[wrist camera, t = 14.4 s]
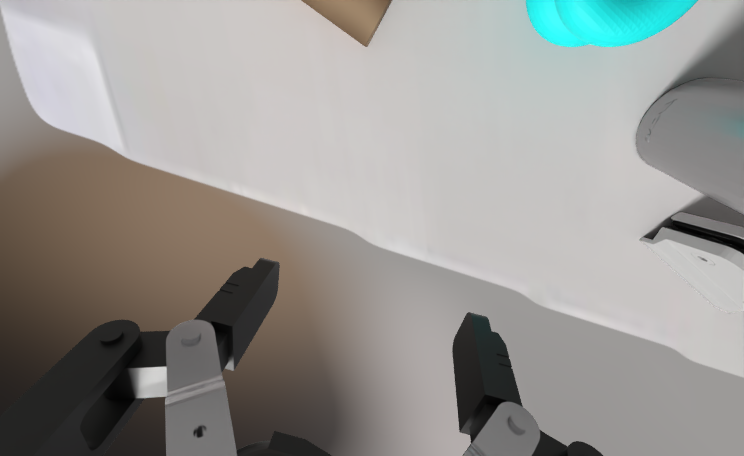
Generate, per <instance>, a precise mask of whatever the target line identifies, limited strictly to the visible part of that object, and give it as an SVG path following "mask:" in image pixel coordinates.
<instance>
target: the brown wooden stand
mask: <svg viewBox="0 0 744 456" xmlns="http://www.w3.org/2000/svg"><path fill="white" fill-rule="evenodd" d="M302 1H303V2H304V3H306V4H307V5H308V6H310V7H311V8H313V9H314V10H315V11H317V12H318V13H320V14H321V15H322V16H324V17H325V18H326V19H328V20H329V21H331V22H332V23H333V24H335V25H336V26H338V27H339V28H340V29H342V30H343V31H344V32H346V33H347V34H349V35H350V36H351V37H353V38H354V39H355V40H357V41H358V42H360V43H361V44H362V45H364V46H365V47H367V46H368V45H369V43H370V41H371V39H372V37H373V35H374V33H375V31H376V30H377V28H378V26H379V24H380V22H381V20H382V18H383V16H384V15H385V13H386V11H387V9H388V7H389V5H390V3H391V1H392V0H302Z"/></svg>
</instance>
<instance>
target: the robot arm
mask: <svg viewBox="0 0 744 456" xmlns="http://www.w3.org/2000/svg"><path fill="white" fill-rule="evenodd" d="M636 147H637V151H638V153H639V155H640V157H641V159H642V160H643V161H645V162H646V163H647V164H648V165H650V166H652V167H654V168H656V169H658V170H659V171H661V172H663V173H665V174H667V175H669V176H671V177H672V178H674V179H676V180H678V181H680V182H682V183H684V184H686V185H687V186H689V187H691V188H693V189H695V190H697V191H699V192H701V193H703V194H705V195H707V196H708V197H710V198H712V199H714V200H716V201H718V202H720V203H722V204H724V205H726V206H727V207H729V208H731V209H733V210H735V211H737V212H739V213H741V214H743V215H744V81H741V80H731V79H722V78H702V79H696V80H693V81H690V82H687V83H684V84H681V85H680V86H678V87H676V88H674V89H672V90H670V91H669V92H668V93H666V94H665V95H663V96H662V97H661V98H659V99H658V100H657V101H656V102H655V103H654V104H653V105H652V106H651V107H650V109H649V110H648V111H647V113H646V114H645V115H644V117H643V119H642V121H641V123H640V125H639V128H638V131H637V135H636ZM279 266H280V265H279V262H275V261H272V260H268V259H264V258H260V259H259V260H258V261H257V263H256V264H255V265H254V267H253V268H248V267H243V268H241V269H240V270H238V271H236V272H234V273H233V274H232V275H231V276H230V278H229V279H228V280H227V281H226V283H225V284H224V285H223V286H222V287H221V288H220V291H218V292H217V293H216V294H215V295H214V297H213V298H212V299H211V300H210V301H209V302H208V304H207V305H206V306H205V307H204V308H203V310H202V311H201V312H200V313H199V315H197V317H196V318H195V319H194V320H190V321H186V322H183V323H181V324H179V325H177V326H176V327H174V328H173V329H172V330H171V331H154V332H140V329H139V327H138V325H137V324H136V323H134V322H132V321H129V320H115V321H111V322H108V323H105V324H103V325H100V326H98V327H97V328H95V329H94V330H92V331H91V332H90V333H89V334H88V335H87V336H86V337H85V338H83V339H82V340H81V341H80V342H79V343H78V344H77V345H76V346H75V347H74V348H73V349H72V350H70V351H69V352H68V353H67V354H66V355H65V356H64V357H63V358H62V359H61V360H60V361H59V362H58V363H57V364H55V366H53V367H52V368H51V369H50V370H49V371H48V372H47V373H46V374H45V375H44V376H43V377H41V378H40V380H38V381H37V382H36V383H35V384H34V385H33V386H32V387H31V388H30V389H29V390H28V391H27V392H25V393H24V394H23V395H22V396H21V397H20V398H19V399H18V400H17V401H16V402H15V403H13V404H12V405H11V406H10V407H9V408H8V409H7V410H6V411H5V412H4V413H3V414H2V415H1V416H0V456H103V455H104V454H105V452H106V451H107V450H108V448H109V447H110V446H111V444H112V443H113V441H114V440H115V439H116V437H117V436H118V435H119V433H120V432H121V430H122V429H123V428H124V426H125V425H126V423H127V422H128V421H129V419H130V418H131V417H132V415H133V414H134V412H135V411H136V410H137V408H138V407H139V406H140V404H141V403H142V401H143V400H144V399H145V398H150V397H164V396H167V397H166V400H165V413H166V456H331V455H330V454H328V453H326V452H325V451H323V450H322V449H320V448H318V447H317V446H315V445H314V444H312V443H310V442H309V441H307V440H305V439H302V438H298V437H295V436H291V435H287V434H283V433H280V432H276V431H274V434H273V436H272V439H271V441H263V442H257V443H254V444H250V445H247V446H245V447H243V448H241V449H238V450H237V451H236V446H235V440H234V434H233V429H232V423H231V417H230V411H229V406H228V400H227V394H226V388H225V383H224V380H223V378H222V371H223V370H224V368H226V369H229V370H233V371H234V369H235V368H236V366H237V364H238V363H239V361H240V359H241V358H242V356H243V354H244V353H245V351H246V349H247V348H248V346H249V344H250V342H251V341H252V339H253V337H254V336H255V334H256V332H257V331H258V329H259V327H260V325H261V324H262V322H263V320H264V318H265V317H266V315H267V314H268V312H269V310H270V308H271V307H272V305H273V303H274V301H275V299H276V296H277V291H278V280H279ZM453 363H454V374H455V385H456V396H457V407H458V418H459V430H460V432H461V433H465V434H468V435H470V437H471V444H470V446H469V447H468V449H467V450H466V451H465V453H464V454H463V456H603V455H602V454H601V453H600V452H599V451H597V450H596V449H595V448H593V447H592V446H590V445H588V444H586V443H584V442H579V441H576V442H573V443H571V444H570V445H569V446H568V447H567V446H566V445H564V444H562V443H560V442H559V441H557V440H555V439H554V438H552V437H550V436H548V435H547V434H545V433H544V432H542V431H541V430H540V429H539V427H538V424H537V423H536V421H535V419H534V418H533V416H532V415H531V414H530V413H529V412H528V411H527V410H526V409H525V408H523V406H522V403H521V399H520V395H519V392H518V388H517V385H516V381H515V377H514V374H513V370H512V369H511V367H512V366H511V362H510V359H509V355H508V351H507V348H506V345H505V343H504V341H503V340H502V338H501V337H500V335H499V334H498V333H496V332H492V331H491V328H490V324H489V320H488V318H487V317H485V316H481V315H477V314H474V313H470V312H469V313H467V314H466V316H465V318H464V320H463V322H462V324H461V326H460V328H459V330H458V332H457V334H456V336H455V338H454V342H453Z"/></svg>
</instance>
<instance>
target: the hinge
mask: <svg viewBox="0 0 744 456" xmlns="http://www.w3.org/2000/svg"><path fill="white" fill-rule="evenodd" d="M671 219H672V220H673V222H672V224H673V225H674V226H675V227H676V228H674V227H671V226H668V227H667V228H664V227H662V228H661V229H660V231H659V232H658V234H657V235H656V236H655V238H654V239H653V240H651V239H648V238H644V237H642V238H641V239H640V241H641V242H642V243H643V244H644V245H645V246H646V247H647V248H649V249H650V250H651V251H652V252H653V253H654V254H655V255H656V256H657V257H659V258H660V259H661V260H662V261H663V262H664V263H665V264H666V265H668V266H669V267H670V268H671V269H672V270H673V271H674V272H675V273H676V274H678V275H679V276H680V277H681V278H682V279H683V280H684V281H685V282H687V283H688V284H689V285H690V286H691V287H692V288H693V289H694V290H695V291H697V292H698V293H699V294H700V295H701V296H702V297H703V298H704V299H706V300H707V301H708V302H709V303H710V304H711V305H712V306H713V307H715V308H717V309H720V310H722V311H724V312H727V313H736V312H741V311H744V227H741V226H737V225H733V224H729V223H724V222H720V221H716V220H712V219H708V218H704V217H700V216H696V215H692V214H688V213H684V212H679V213H676V214H675V215H674V216H672V217H671ZM677 228H678V229H677Z"/></svg>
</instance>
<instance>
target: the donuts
mask: <svg viewBox="0 0 744 456" xmlns="http://www.w3.org/2000/svg"><path fill="white" fill-rule="evenodd" d="M697 1H698V0H526V6H527V12H528V15H529V18H530V21H531V23H532V25H533V27H534V28H535V30H536V31H537V32H538V33H539V34H540V35H541V36H542V37H543V38H544V39H546V40H547V41H549V42H551V43H553V44H556V45H559V46H566V47H578V46H584V45H588V44H591V45H595V46H602V47H616V46H624V45H629V44H633V43H636V42H639V41H642V40H644V39H646V38H649V37H651V36H653V35H655V34H657V33H658V32H660V31H662V30H664V29H665V28H667V27H668V26H670V25H671V24H673V23H674V22H675V21H676V20H678V19H679V18H680V17H681V16H683V15H684V14H685V13H686V12H687V11H688V10H689V9H690V8H691V7H692V6H693V5H694V4H695V3H696V2H697Z"/></svg>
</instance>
